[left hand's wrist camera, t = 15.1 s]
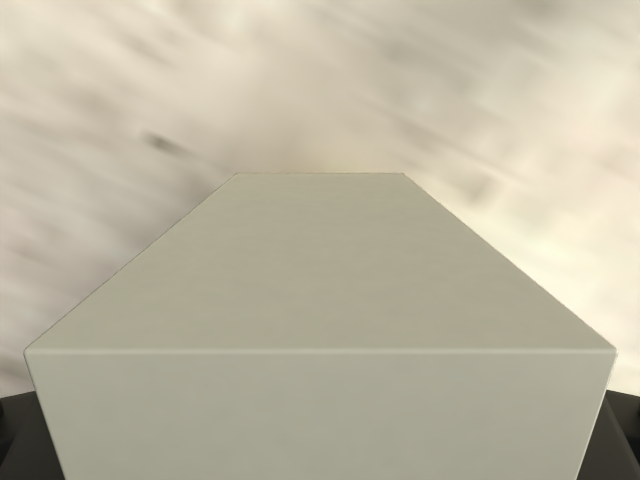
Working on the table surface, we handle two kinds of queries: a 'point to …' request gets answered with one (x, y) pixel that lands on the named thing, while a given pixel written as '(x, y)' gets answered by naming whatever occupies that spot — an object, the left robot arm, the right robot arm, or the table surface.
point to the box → (320, 347)
